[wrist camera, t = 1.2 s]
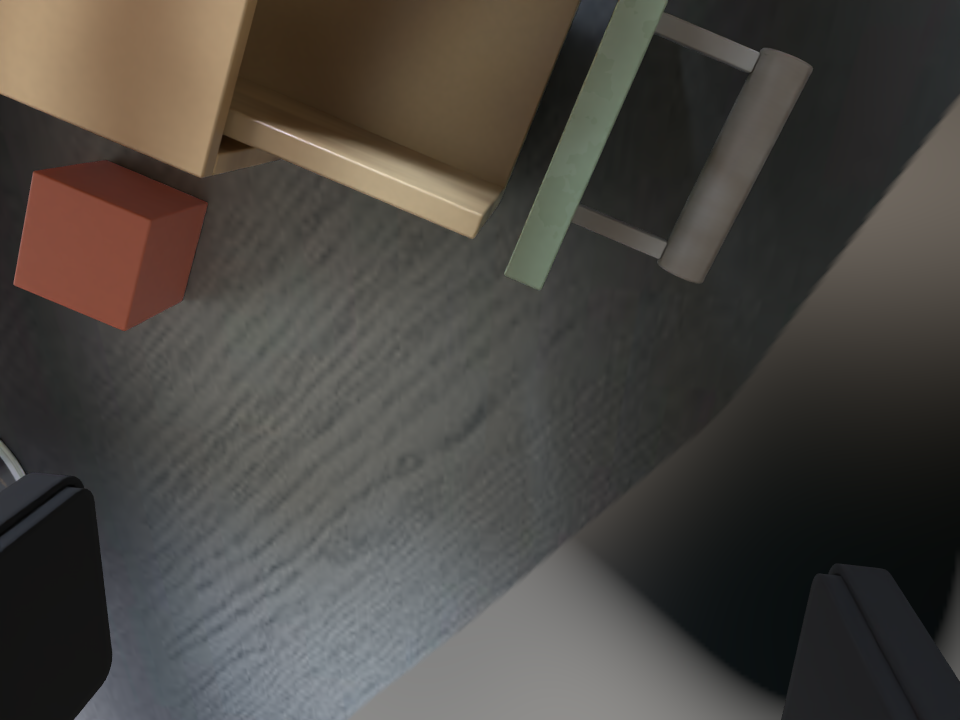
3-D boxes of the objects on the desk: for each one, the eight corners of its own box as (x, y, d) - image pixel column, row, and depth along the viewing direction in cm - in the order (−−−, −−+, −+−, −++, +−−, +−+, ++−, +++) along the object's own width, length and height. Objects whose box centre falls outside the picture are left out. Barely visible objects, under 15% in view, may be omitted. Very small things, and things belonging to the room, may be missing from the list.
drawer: (798, 24, 27) (877, 1, 20) (665, 291, 30) (690, 354, 23) (279, -197, 27) (165, -303, 19) (206, 98, 30) (87, 100, 23)
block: (105, 158, 32) (32, 170, 28) (209, 202, 32) (151, 220, 28) (84, 260, 34) (11, 285, 30) (183, 301, 34) (124, 332, 30)
